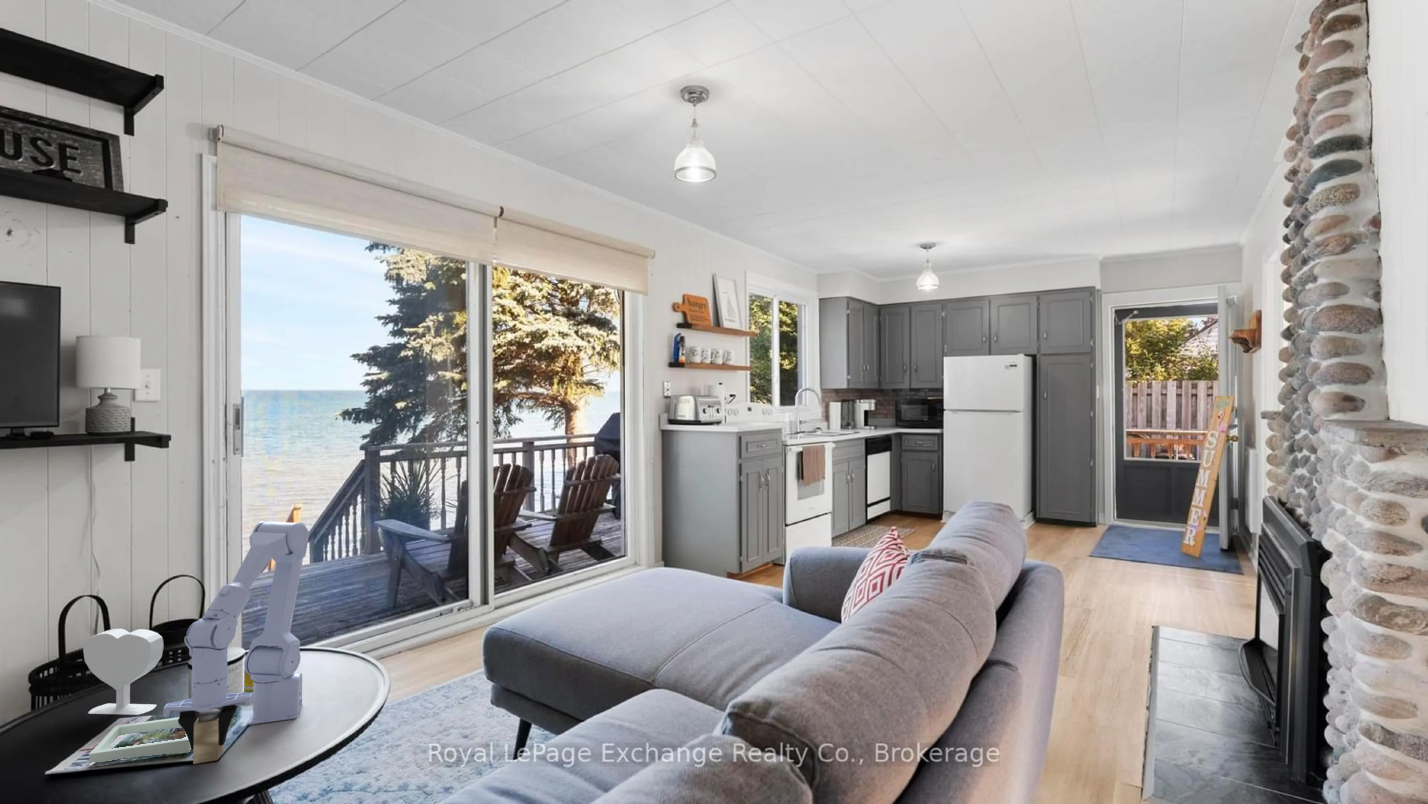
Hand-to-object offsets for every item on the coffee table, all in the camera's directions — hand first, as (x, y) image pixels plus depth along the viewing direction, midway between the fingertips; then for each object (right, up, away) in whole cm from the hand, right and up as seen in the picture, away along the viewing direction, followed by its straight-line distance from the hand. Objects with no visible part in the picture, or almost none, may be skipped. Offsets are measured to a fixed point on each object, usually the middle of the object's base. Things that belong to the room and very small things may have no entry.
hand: (208, 744), depth 137 cm
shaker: (0, -2, 0) cm, 2 cm away
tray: (-15, -2, +4) cm, 15 cm away
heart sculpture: (-34, -2, +19) cm, 39 cm away
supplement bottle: (-11, -2, +30) cm, 32 cm away
